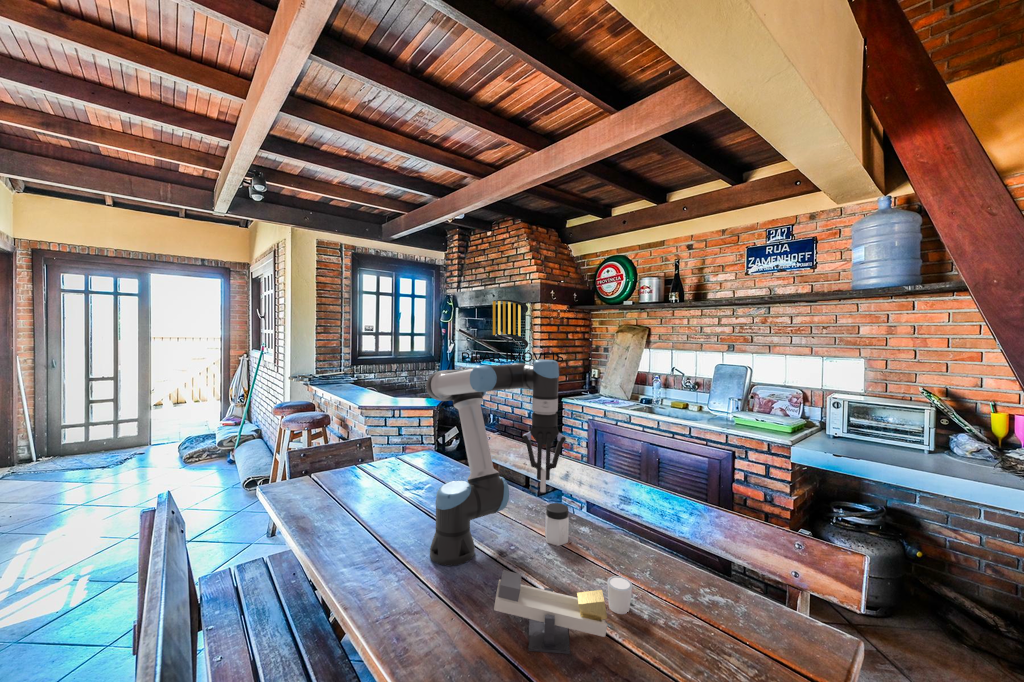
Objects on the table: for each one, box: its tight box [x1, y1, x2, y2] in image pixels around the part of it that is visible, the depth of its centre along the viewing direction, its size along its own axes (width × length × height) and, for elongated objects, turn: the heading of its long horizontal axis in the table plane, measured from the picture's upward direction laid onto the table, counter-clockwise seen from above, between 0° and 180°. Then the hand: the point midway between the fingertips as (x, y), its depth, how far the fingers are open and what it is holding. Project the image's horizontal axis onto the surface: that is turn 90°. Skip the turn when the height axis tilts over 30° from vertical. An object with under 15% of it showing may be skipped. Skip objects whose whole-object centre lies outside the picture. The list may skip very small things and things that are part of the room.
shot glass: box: [606, 575, 633, 615], centre depth 116 cm, size 7×7×7 cm
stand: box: [528, 587, 571, 655], centre depth 106 cm, size 10×14×8 cm
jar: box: [544, 502, 570, 547], centre depth 152 cm, size 9×8×12 cm
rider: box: [576, 589, 608, 620], centre depth 105 cm, size 4×4×6 cm
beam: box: [493, 569, 608, 638], centre depth 106 cm, size 28×9×6 cm, turn 87°
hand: (542, 490), depth 123 cm, fingers closed
